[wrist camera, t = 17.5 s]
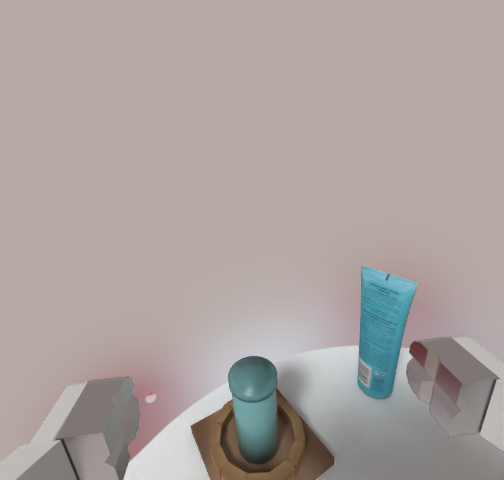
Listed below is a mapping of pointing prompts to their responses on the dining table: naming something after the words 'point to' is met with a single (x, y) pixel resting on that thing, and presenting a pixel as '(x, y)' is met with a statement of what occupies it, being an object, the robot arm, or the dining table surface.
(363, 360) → the tube
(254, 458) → the teal rimmed peg
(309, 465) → the collar base
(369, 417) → the dining table surface
